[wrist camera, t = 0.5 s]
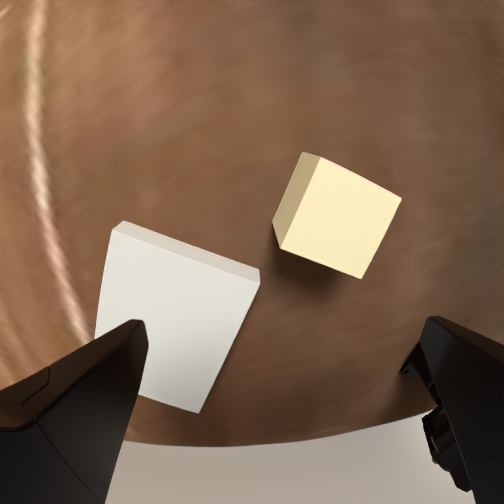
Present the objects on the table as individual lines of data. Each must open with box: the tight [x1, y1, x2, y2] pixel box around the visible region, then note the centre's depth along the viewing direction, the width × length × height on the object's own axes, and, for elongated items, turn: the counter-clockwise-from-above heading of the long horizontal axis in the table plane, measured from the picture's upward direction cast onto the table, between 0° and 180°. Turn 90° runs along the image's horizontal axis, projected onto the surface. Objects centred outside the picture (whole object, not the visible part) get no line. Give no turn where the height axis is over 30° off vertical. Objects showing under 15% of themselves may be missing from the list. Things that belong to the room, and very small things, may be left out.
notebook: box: [95, 221, 260, 414], centre depth 22 cm, size 10×14×2 cm
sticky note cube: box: [272, 152, 402, 279], centre depth 18 cm, size 5×5×5 cm
